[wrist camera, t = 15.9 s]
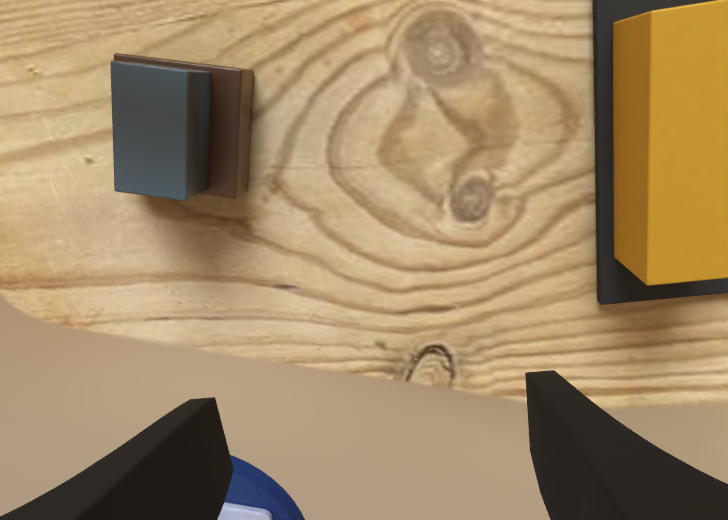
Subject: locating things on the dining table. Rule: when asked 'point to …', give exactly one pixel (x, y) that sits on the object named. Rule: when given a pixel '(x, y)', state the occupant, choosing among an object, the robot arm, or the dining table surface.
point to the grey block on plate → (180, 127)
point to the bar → (671, 143)
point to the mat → (612, 276)
